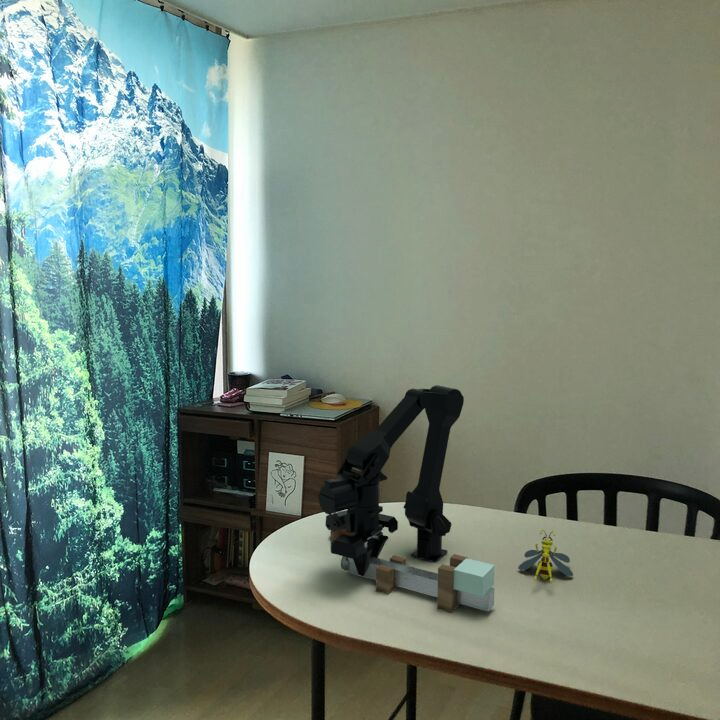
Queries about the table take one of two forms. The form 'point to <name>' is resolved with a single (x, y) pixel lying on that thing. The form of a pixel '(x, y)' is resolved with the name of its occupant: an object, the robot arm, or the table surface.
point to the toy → (546, 559)
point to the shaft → (419, 581)
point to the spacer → (474, 577)
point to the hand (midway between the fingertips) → (365, 572)
